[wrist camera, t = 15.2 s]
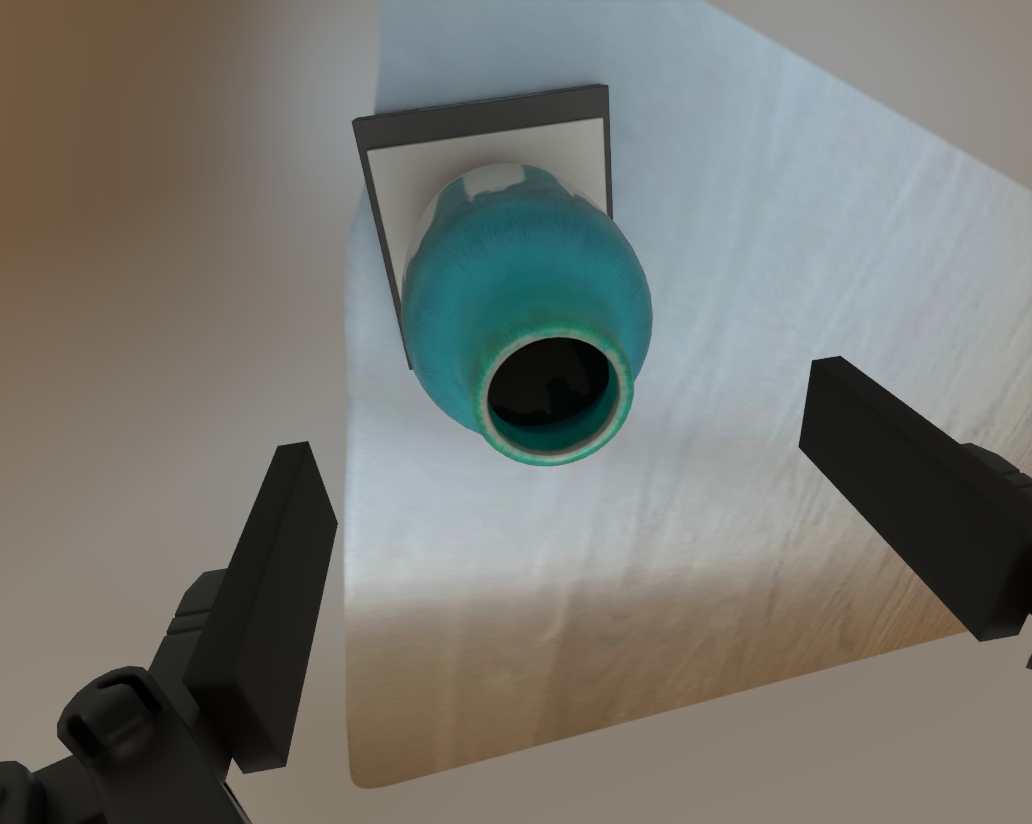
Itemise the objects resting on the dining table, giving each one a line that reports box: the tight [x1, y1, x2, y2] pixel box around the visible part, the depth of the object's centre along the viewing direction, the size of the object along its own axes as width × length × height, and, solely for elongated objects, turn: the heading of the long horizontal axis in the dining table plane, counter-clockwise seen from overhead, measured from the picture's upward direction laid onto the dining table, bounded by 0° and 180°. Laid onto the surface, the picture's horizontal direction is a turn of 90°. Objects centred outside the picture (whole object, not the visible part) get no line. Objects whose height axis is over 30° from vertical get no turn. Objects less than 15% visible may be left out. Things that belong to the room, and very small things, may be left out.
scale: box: [352, 84, 613, 370], centre depth 37 cm, size 15×14×3 cm
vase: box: [401, 163, 653, 466], centre depth 27 cm, size 11×11×19 cm
